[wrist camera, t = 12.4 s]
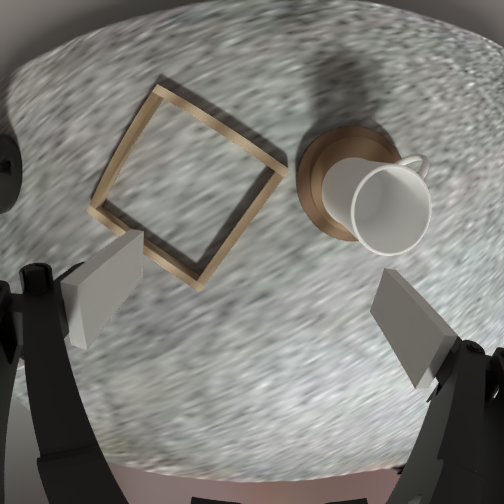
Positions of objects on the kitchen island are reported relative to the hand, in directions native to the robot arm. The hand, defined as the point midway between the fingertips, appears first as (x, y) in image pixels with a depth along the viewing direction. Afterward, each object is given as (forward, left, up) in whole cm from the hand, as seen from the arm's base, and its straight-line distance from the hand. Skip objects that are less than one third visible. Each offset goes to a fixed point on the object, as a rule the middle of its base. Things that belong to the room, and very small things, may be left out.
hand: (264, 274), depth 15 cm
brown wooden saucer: (+8, +9, -24) cm, 27 cm away
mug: (+8, +10, -21) cm, 25 cm away
